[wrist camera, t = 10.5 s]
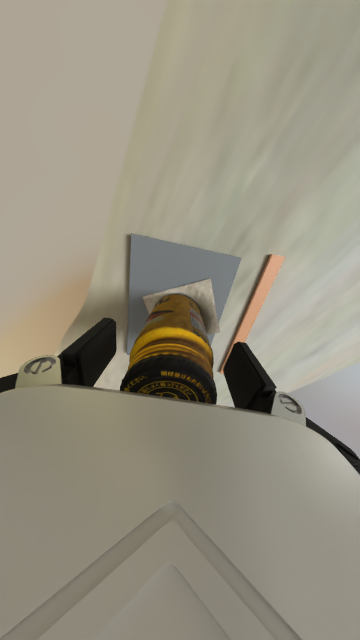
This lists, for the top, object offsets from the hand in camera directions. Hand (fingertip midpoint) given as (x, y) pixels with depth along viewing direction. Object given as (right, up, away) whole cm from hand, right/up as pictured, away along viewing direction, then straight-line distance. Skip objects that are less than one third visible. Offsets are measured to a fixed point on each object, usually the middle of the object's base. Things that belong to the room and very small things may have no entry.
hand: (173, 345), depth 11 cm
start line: (+10, +1, +8) cm, 13 cm away
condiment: (+1, +3, +7) cm, 8 cm away
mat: (0, +3, +8) cm, 8 cm away
